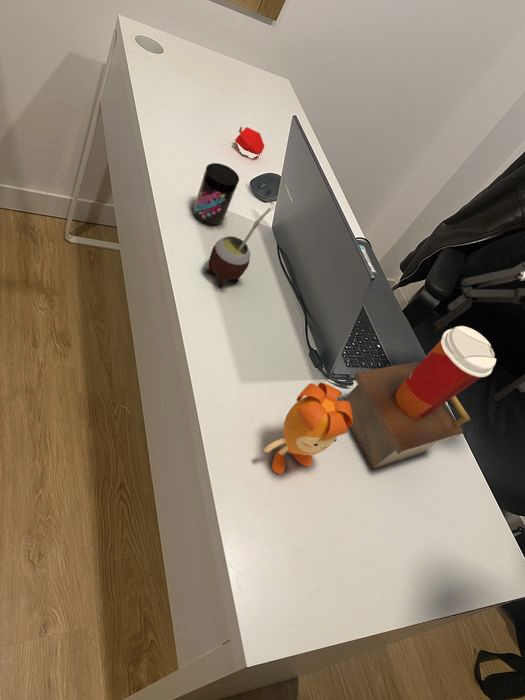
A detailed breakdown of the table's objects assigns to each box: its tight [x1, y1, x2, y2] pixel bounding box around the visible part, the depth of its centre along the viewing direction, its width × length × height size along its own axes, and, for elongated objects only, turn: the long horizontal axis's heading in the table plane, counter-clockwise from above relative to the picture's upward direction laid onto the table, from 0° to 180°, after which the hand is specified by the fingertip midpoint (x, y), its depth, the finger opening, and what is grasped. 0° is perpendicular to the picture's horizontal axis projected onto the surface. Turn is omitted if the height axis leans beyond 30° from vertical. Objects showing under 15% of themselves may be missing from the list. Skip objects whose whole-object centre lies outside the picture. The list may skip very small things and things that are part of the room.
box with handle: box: [342, 361, 471, 470], centre depth 81 cm, size 14×14×12 cm
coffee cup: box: [395, 325, 497, 419], centre depth 73 cm, size 8×8×15 cm
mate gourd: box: [205, 207, 272, 289], centre depth 89 cm, size 8×8×15 cm
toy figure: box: [263, 382, 353, 475], centre depth 70 cm, size 12×8×15 cm, turn 112°
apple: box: [234, 126, 266, 155], centre depth 123 cm, size 7×7×8 cm
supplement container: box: [192, 162, 240, 226], centre depth 100 cm, size 7×7×10 cm
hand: (463, 362), depth 74 cm, fingers open, 13 cm apart
